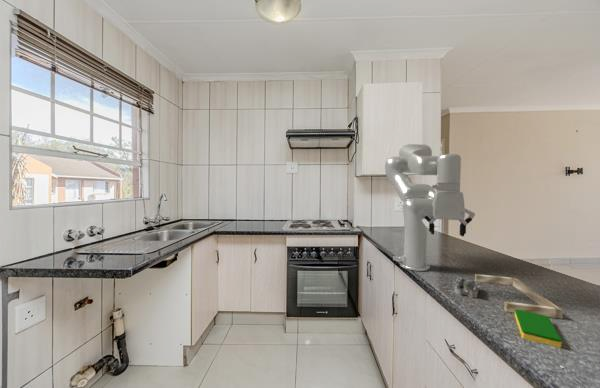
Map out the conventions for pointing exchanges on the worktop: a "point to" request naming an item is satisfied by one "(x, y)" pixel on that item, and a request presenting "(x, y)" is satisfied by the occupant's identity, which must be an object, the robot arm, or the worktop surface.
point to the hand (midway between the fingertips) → (446, 234)
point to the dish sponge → (537, 328)
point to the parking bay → (543, 304)
